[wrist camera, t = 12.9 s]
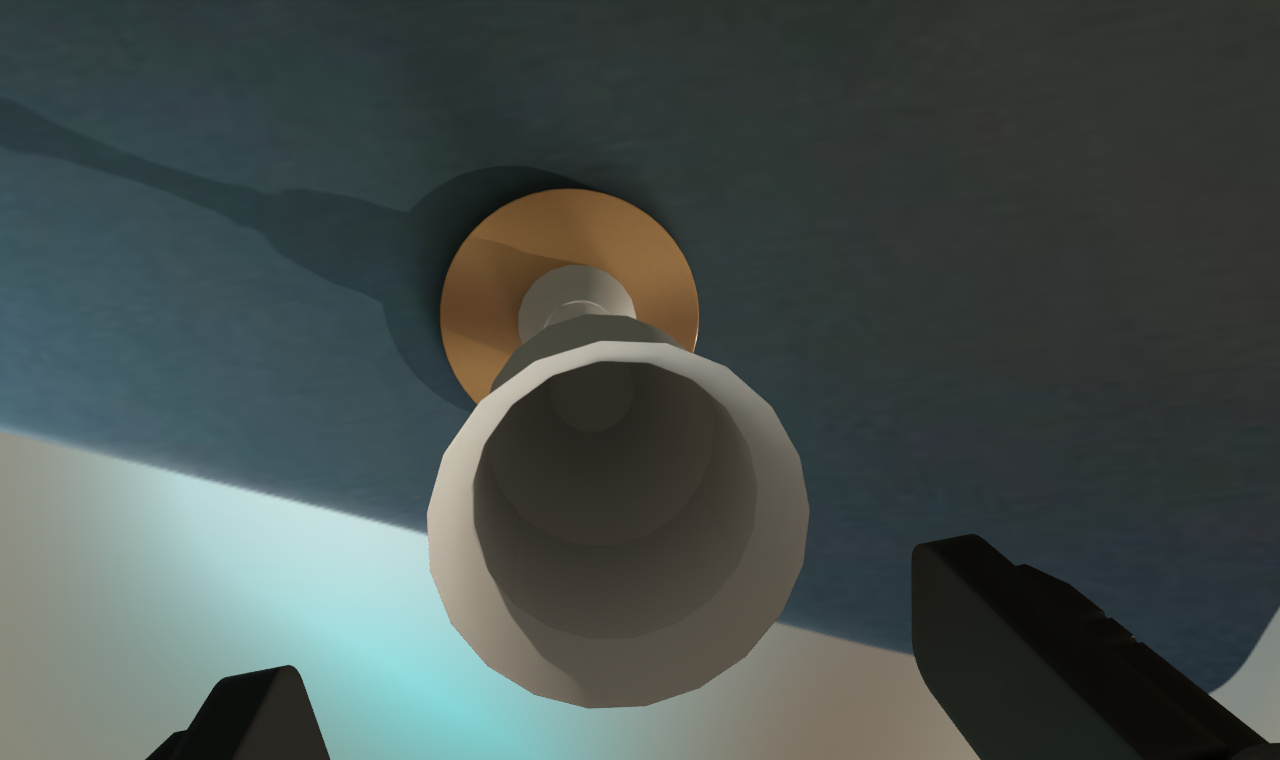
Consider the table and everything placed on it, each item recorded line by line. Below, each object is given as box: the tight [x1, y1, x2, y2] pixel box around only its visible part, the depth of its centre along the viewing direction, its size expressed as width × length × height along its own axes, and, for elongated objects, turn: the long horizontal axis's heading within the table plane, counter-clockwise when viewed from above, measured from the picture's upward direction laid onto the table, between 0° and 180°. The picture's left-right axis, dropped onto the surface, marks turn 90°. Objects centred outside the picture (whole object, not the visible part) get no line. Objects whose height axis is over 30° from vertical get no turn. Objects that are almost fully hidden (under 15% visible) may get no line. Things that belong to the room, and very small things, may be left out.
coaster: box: [440, 188, 699, 405], centre depth 29 cm, size 11×11×1 cm
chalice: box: [427, 265, 810, 708], centre depth 21 cm, size 7×7×18 cm
